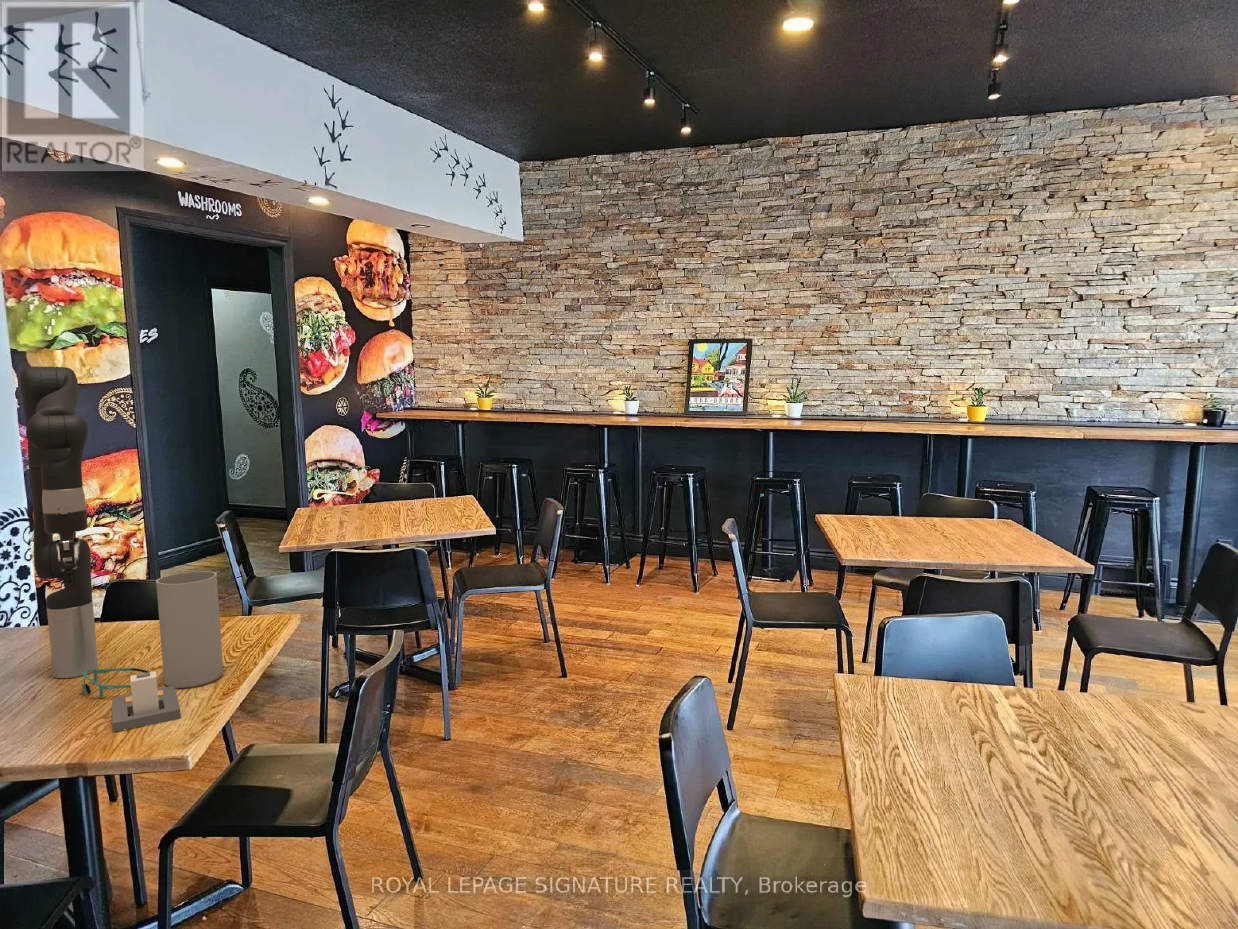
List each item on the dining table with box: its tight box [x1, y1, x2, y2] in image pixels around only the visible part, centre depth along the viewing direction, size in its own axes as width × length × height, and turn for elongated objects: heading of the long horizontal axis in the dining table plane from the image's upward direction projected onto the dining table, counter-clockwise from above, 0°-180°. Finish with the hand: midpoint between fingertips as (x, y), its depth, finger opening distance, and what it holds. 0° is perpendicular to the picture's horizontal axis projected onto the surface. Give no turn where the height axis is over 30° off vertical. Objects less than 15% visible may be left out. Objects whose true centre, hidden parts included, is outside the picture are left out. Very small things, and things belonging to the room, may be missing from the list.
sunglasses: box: [81, 667, 159, 699], centre depth 182 cm, size 14×15×5 cm
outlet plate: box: [111, 685, 182, 733], centre depth 167 cm, size 16×12×2 cm
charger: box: [129, 671, 160, 716], centre depth 164 cm, size 4×5×9 cm
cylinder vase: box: [155, 570, 224, 689], centre depth 184 cm, size 12×12×25 cm
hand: (71, 583), depth 166 cm, fingers open, 8 cm apart
